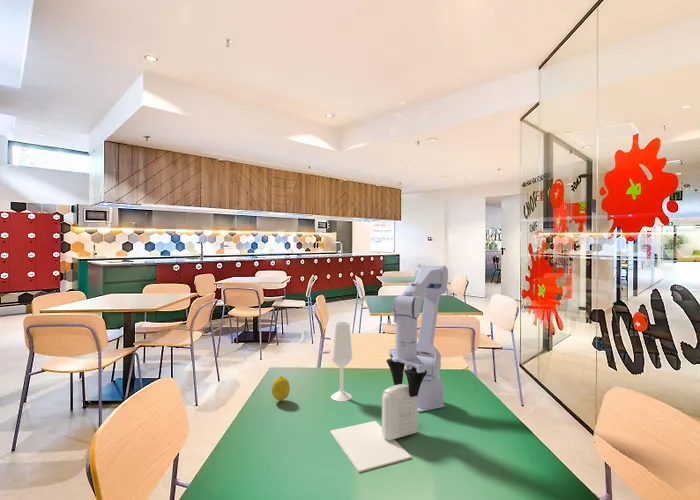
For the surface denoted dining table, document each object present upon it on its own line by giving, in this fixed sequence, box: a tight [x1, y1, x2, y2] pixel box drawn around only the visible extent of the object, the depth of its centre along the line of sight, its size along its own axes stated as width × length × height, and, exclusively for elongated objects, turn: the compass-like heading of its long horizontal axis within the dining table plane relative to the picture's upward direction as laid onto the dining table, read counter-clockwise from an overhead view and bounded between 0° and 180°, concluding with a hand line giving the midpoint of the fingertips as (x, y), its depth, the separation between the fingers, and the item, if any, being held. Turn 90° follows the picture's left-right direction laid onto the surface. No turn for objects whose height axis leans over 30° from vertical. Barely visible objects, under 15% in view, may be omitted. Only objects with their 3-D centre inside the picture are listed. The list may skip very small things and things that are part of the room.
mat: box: [329, 420, 412, 473], centre depth 88 cm, size 14×18×1 cm
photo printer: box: [381, 383, 419, 440], centre depth 93 cm, size 10×4×12 cm, turn 123°
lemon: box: [271, 375, 291, 402], centre depth 112 cm, size 6×6×8 cm
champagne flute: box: [330, 321, 353, 402], centre depth 116 cm, size 7×7×24 cm
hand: (405, 390), depth 96 cm, fingers open, 7 cm apart
